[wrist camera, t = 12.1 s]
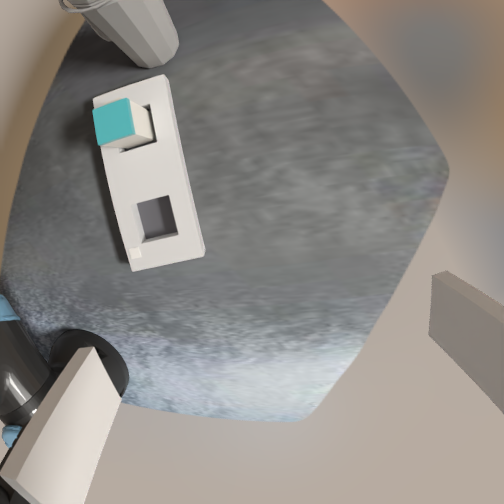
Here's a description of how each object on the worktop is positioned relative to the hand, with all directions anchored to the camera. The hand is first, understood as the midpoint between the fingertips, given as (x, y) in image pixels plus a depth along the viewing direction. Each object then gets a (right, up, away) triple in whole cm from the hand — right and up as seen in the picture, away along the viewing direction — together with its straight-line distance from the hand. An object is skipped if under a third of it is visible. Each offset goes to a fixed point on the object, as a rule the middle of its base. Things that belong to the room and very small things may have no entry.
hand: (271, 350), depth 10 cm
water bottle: (-15, +31, +23) cm, 42 cm away
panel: (-14, +14, +28) cm, 34 cm away
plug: (-15, +19, +26) cm, 36 cm away
